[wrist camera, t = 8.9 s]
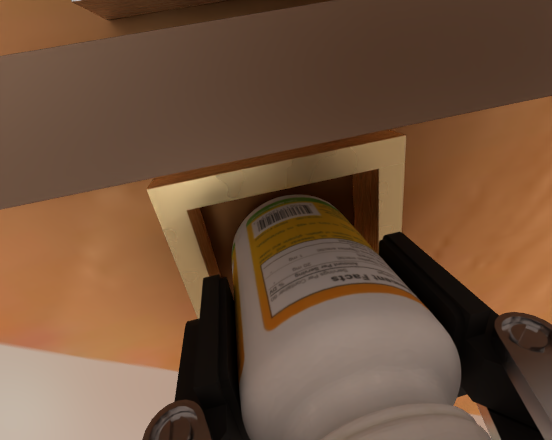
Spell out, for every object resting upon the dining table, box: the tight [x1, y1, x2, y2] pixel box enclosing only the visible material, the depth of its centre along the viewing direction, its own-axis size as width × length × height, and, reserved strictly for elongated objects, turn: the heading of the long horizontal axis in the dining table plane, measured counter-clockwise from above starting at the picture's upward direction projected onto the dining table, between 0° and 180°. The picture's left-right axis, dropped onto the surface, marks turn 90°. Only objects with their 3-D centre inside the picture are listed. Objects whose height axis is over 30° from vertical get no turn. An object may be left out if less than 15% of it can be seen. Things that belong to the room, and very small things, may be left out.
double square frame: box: [71, 0, 406, 319], centre depth 10 cm, size 23×9×2 cm, turn 9°
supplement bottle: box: [232, 195, 491, 440], centre depth 9 cm, size 5×5×10 cm
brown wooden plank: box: [0, 0, 552, 209], centre depth 8 cm, size 2×24×7 cm, turn 99°
